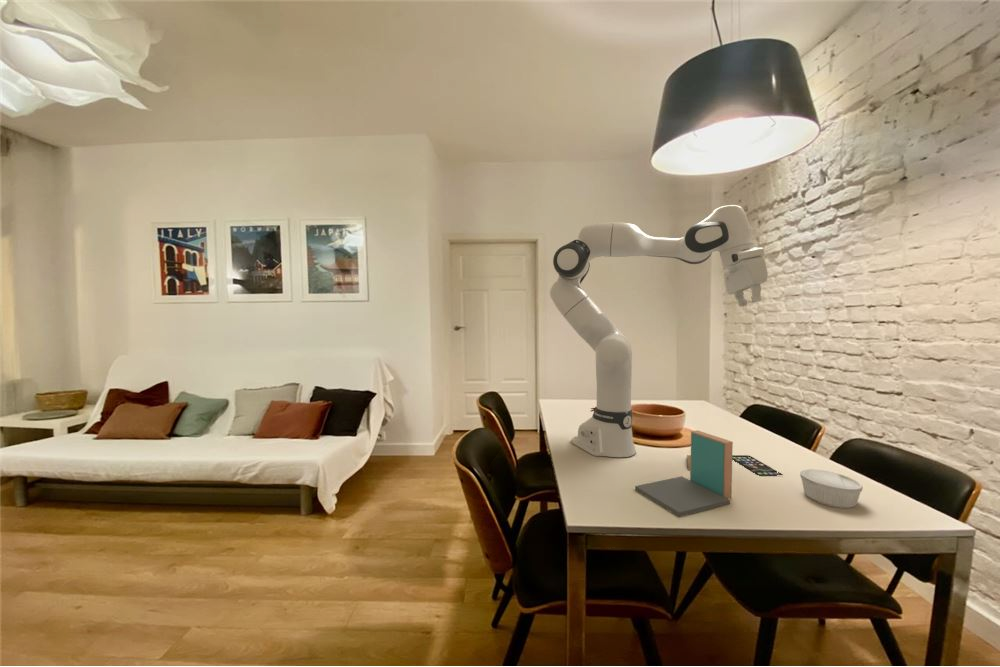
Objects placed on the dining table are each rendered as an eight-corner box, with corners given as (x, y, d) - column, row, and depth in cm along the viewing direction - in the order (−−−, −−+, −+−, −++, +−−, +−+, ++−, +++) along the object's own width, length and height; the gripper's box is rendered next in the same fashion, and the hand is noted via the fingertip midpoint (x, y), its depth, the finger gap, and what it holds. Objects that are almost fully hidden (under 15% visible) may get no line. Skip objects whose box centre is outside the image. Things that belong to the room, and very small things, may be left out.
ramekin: (875, 511, 85) (876, 489, 84) (826, 511, 85) (826, 488, 85) (832, 489, 96) (833, 469, 96) (788, 488, 96) (789, 468, 96)
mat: (635, 489, 95) (635, 486, 95) (681, 479, 101) (681, 476, 101) (679, 516, 82) (679, 512, 82) (729, 503, 88) (730, 499, 88)
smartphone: (758, 475, 104) (726, 455, 119) (758, 477, 104) (726, 457, 119) (785, 475, 103) (749, 455, 118) (784, 477, 104) (749, 457, 118)
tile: (689, 482, 100) (690, 431, 99) (696, 481, 100) (697, 430, 100) (723, 499, 90) (725, 443, 90) (731, 497, 91) (732, 441, 91)
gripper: (715, 269, 120) (725, 310, 119) (740, 252, 101) (752, 301, 99) (737, 264, 119) (747, 306, 118) (766, 246, 99) (779, 296, 98)
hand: (749, 304), depth 108 cm, fingers open, 8 cm apart
